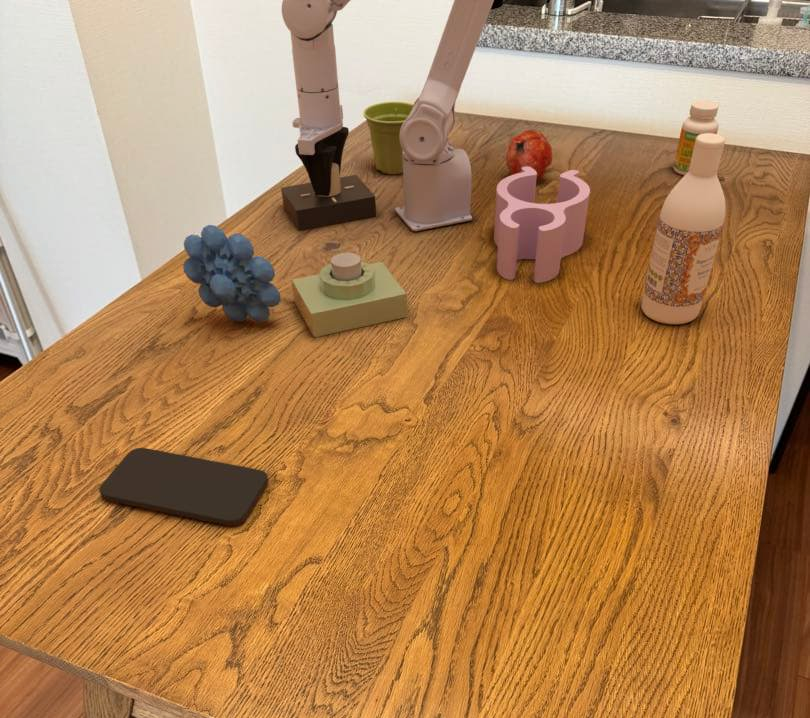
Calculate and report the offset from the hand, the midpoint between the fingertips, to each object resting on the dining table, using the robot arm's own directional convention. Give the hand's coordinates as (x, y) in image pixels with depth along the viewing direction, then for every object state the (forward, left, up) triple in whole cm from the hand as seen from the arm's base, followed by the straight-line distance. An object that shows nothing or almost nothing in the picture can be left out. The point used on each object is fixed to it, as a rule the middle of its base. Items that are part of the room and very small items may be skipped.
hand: (327, 188), depth 116 cm
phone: (+31, +55, -3) cm, 63 cm away
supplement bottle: (-58, +9, -4) cm, 59 cm away
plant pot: (-15, -12, -4) cm, 20 cm away
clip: (-23, +23, -4) cm, 33 cm away
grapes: (+20, +27, -4) cm, 34 cm away
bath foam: (-30, +45, -4) cm, 54 cm away
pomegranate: (-33, +1, -4) cm, 33 cm away
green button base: (+6, +29, -3) cm, 30 cm away
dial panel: (0, 0, -3) cm, 3 cm away
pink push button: (+6, +29, +1) cm, 30 cm away
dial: (0, 0, 0) cm, 0 cm away
